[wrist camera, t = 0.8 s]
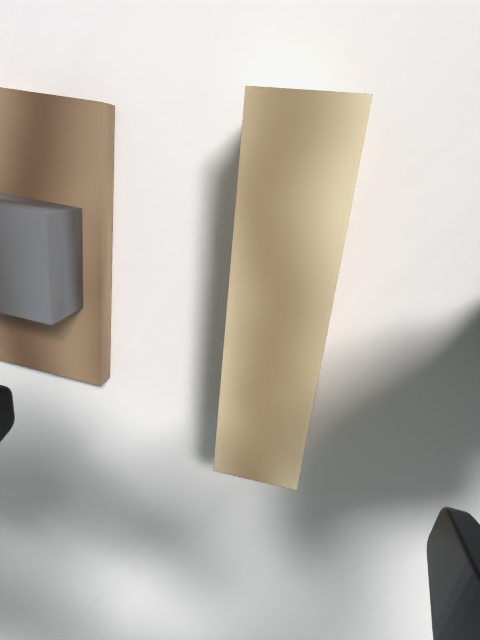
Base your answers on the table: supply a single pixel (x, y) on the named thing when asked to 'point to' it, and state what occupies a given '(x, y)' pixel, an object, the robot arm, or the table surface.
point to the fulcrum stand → (56, 233)
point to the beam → (284, 272)
